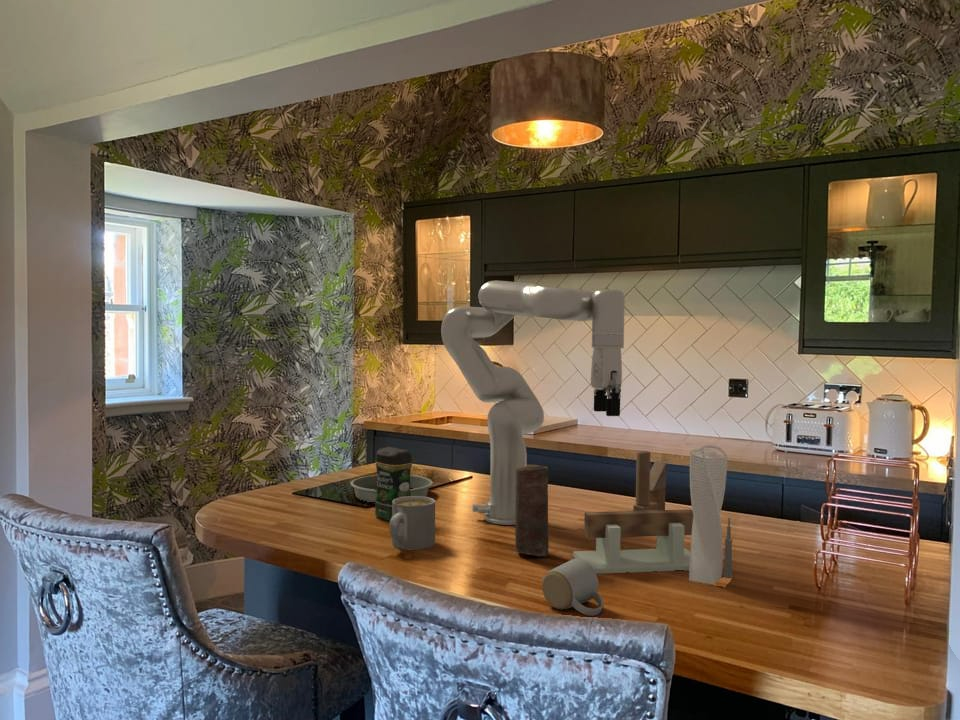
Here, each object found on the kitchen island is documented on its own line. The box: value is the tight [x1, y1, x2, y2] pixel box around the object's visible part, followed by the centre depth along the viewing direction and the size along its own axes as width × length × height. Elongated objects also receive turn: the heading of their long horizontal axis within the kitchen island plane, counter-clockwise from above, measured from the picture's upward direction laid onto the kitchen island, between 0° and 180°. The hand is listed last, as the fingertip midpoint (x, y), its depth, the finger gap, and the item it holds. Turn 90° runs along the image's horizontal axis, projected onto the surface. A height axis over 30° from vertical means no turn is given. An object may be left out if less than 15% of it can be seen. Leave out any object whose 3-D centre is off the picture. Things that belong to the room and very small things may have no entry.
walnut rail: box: [583, 508, 693, 539], centre depth 155 cm, size 24×2×5 cm, turn 98°
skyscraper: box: [688, 445, 733, 585], centre depth 144 cm, size 8×8×28 cm
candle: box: [514, 463, 549, 558], centre depth 160 cm, size 8×7×20 cm
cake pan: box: [349, 474, 434, 504], centre depth 216 cm, size 25×25×4 cm
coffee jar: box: [374, 446, 413, 521], centre depth 190 cm, size 10×8×19 cm
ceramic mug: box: [541, 558, 604, 617], centre depth 130 cm, size 11×8×8 cm
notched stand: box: [572, 523, 690, 575], centre depth 155 cm, size 26×12×9 cm, turn 98°
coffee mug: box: [388, 496, 436, 551], centre depth 166 cm, size 13×10×10 cm
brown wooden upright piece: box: [632, 450, 667, 511], centre depth 195 cm, size 4×11×18 cm, turn 135°
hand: (606, 413), depth 172 cm, fingers open, 9 cm apart
